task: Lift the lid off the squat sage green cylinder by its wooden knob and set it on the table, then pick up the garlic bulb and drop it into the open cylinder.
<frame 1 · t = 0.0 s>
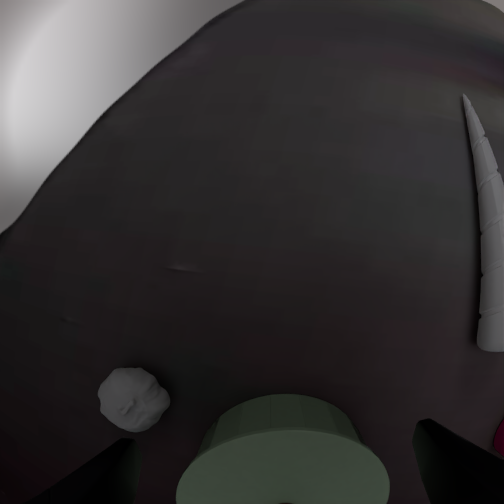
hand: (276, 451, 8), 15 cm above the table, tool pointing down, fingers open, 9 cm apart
squat sage green cylinder: (281, 462, 23), on the table
unicorn horn: (482, 223, 23), on the table
garlic: (143, 388, 24), on the table
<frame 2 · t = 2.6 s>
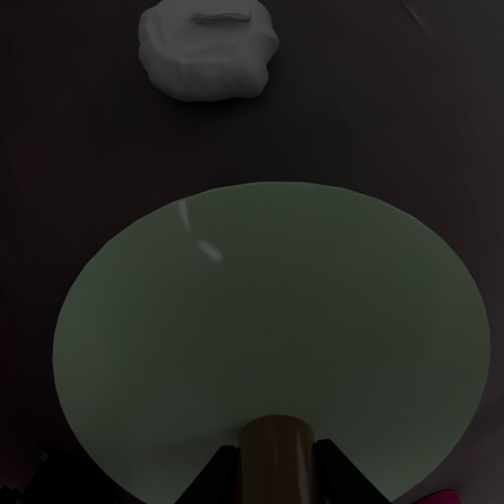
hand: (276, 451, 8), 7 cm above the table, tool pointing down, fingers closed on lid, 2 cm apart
lid: (275, 430, 9), point 6 cm above the table, touching gripper, squat sage green cylinder
garlic: (216, 62, 13), on the table
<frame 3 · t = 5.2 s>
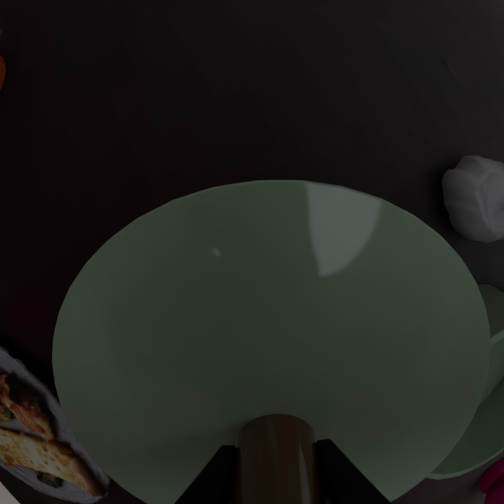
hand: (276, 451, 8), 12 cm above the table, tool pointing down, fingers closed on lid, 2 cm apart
squat sage green cylinder: (459, 365, 21), on the table
lid: (275, 429, 9), point 11 cm above the table, touching gripper
pepper mill: (495, 470, 25), on the table
garlic: (461, 196, 18), on the table
food plate: (21, 421, 24), on the table
when the fingers open (2 cm above the table, at t = 7.7 s): lid stays where it is, point 1 cm above the table.
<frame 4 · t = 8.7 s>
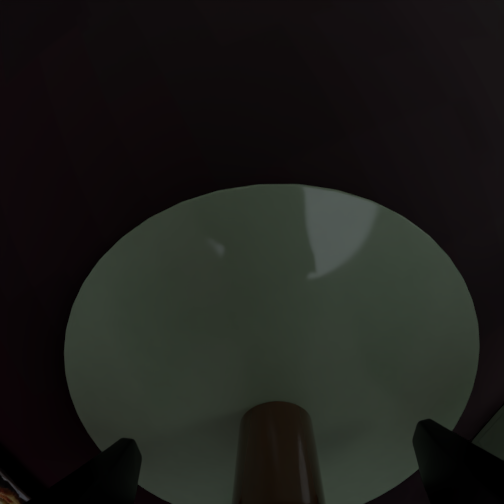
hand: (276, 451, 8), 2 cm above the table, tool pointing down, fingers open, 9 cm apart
lid: (275, 417, 10), point 1 cm above the table
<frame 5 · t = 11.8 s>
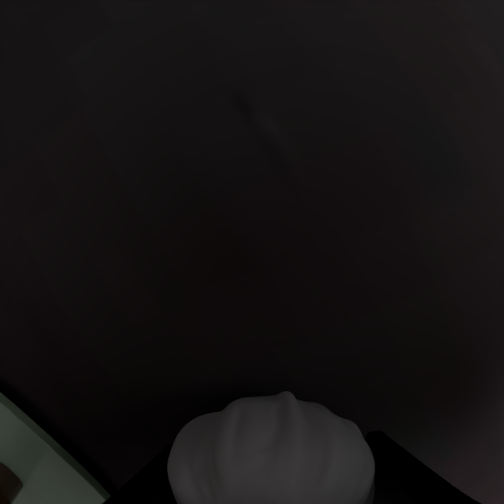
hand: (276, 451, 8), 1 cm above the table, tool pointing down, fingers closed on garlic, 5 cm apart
lid: (10, 468, 10), point 1 cm above the table
garlic: (275, 426, 9), on the table, touching gripper
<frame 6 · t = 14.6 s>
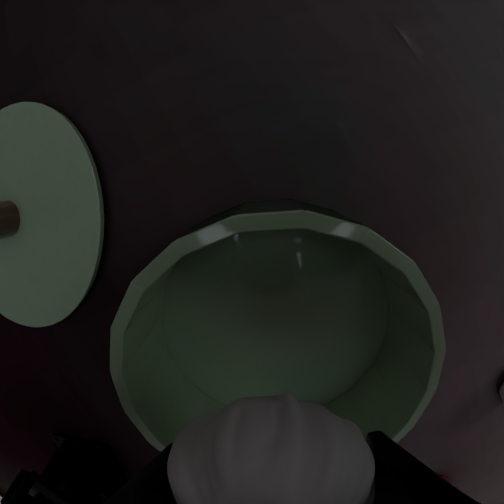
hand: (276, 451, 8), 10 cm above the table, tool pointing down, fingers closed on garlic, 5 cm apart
squat sage green cylinder: (276, 326, 18), on the table
lid: (13, 217, 16), point 1 cm above the table
garlic: (275, 426, 9), point 9 cm above the table, touching gripper
when the fingers open (1 cm above the table, at t = 17.5 s): garlic stays where it is, resting on squat sage green cylinder.
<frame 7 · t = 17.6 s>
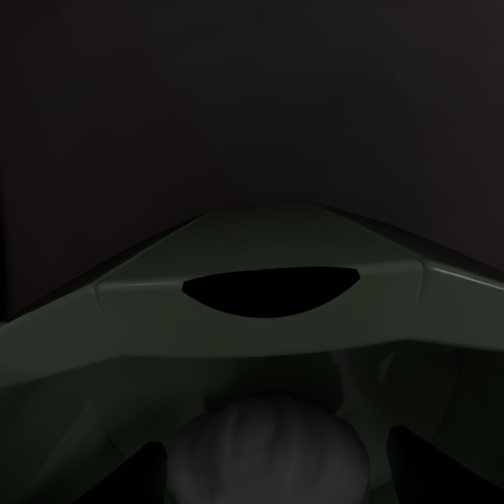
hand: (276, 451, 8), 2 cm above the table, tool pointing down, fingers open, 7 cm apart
squat sage green cylinder: (276, 420, 10), on the table
garlic: (274, 425, 9), resting on squat sage green cylinder
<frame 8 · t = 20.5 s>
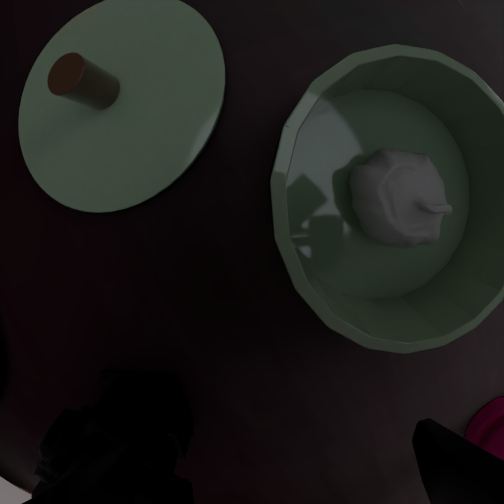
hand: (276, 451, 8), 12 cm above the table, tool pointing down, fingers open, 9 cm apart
squat sage green cylinder: (384, 194, 18), on the table
lid: (107, 93, 17), point 1 cm above the table
pepper mill: (487, 418, 22), on the table
garlic: (384, 195, 18), resting on squat sage green cylinder
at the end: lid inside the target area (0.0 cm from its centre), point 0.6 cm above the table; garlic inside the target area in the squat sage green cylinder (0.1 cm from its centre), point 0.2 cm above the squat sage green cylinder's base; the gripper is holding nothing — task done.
